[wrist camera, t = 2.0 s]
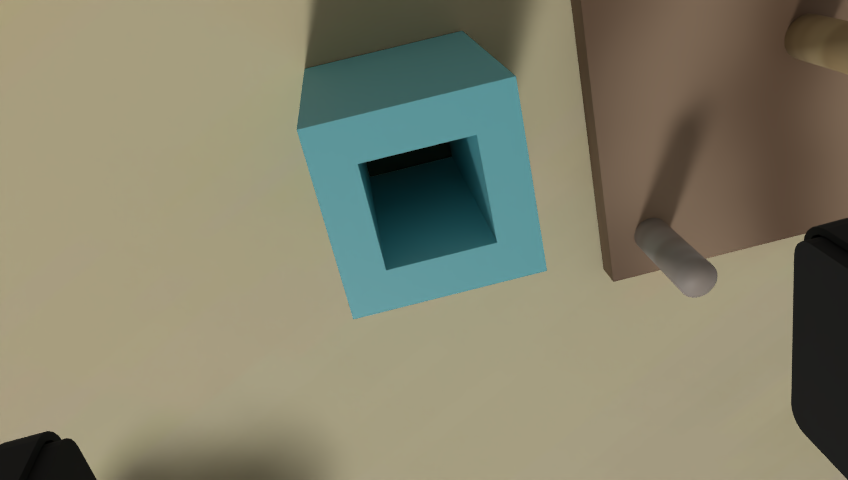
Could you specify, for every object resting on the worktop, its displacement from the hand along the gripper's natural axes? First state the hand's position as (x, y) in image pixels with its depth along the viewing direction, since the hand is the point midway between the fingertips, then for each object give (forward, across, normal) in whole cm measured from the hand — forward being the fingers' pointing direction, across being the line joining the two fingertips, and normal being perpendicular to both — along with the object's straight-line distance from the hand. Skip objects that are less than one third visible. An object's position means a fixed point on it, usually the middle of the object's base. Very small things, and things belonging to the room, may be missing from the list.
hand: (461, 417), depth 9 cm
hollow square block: (+15, -1, +1) cm, 15 cm away
